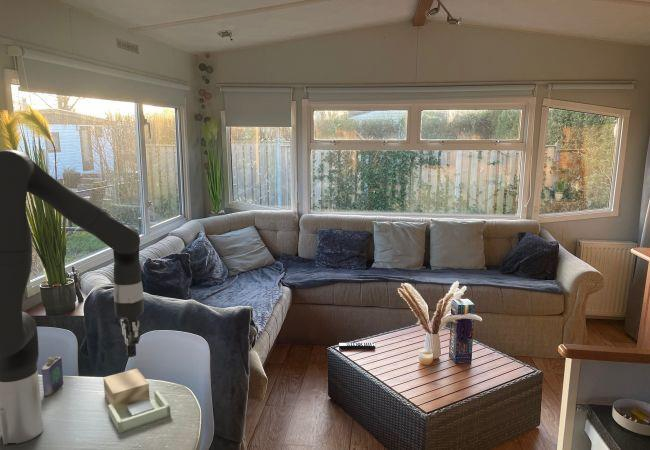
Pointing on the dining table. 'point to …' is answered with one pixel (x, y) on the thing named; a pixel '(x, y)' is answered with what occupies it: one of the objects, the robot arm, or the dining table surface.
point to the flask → (52, 375)
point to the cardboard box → (126, 388)
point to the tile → (139, 407)
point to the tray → (127, 422)
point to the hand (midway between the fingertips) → (131, 355)
